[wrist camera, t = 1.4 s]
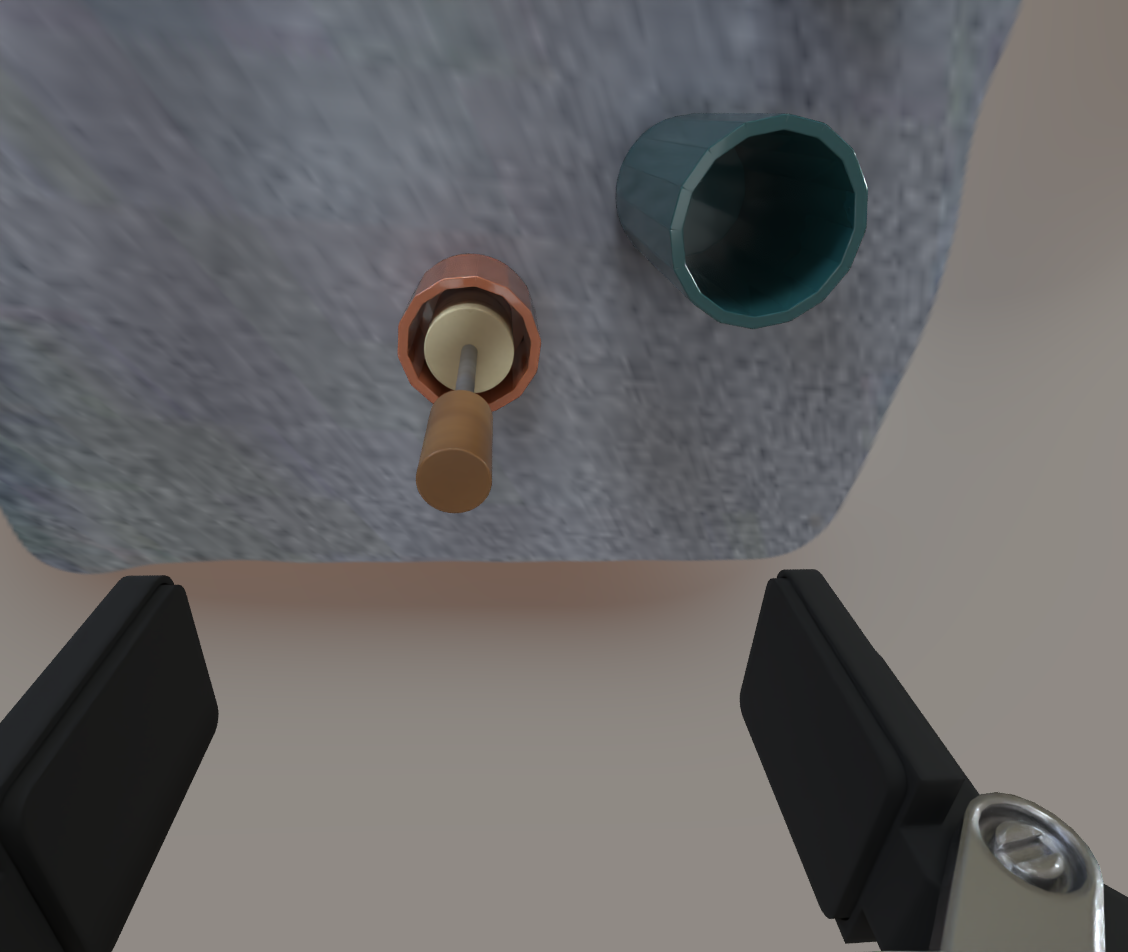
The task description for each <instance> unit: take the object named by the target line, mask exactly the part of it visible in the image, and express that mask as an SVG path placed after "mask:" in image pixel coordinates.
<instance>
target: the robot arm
mask: <svg viewBox="0 0 1128 952" xmlns="http://www.w3.org/2000/svg"><path fill="white" fill-rule="evenodd" d="M740 707H741V712H742V715H743V718H744V721H745V723H746V726H747V728H748V731H749V733H750V736H751V737H752V740H753V743H754V745H755V748H756V750H757V753H758V755H759V758H760V760H761V763H762V765H763V767H764V770H765V772H766V775H767V777H768V780H769V782H770V785H771V787H772V790H773V792H774V795H775V797H776V800H777V802H778V805H779V807H780V810H781V812H782V814H783V817H784V820H785V822H786V824H787V827H788V829H789V832H790V834H791V837H792V839H793V842H794V844H795V846H796V849H797V852H798V854H799V856H800V859H801V861H802V864H803V866H804V869H805V871H806V874H807V876H808V879H809V881H810V884H811V886H812V889H813V891H814V894H815V896H816V899H817V901H818V904H819V906H820V908H821V910H822V912H823V913H824V915H825V916H826V917H827V918H829V919H834V918H835V920H836V922H837V925H838V927H839V929H840V932H841V934H842V937H843V939H844V941H845V943H861V942H877V943H878V945H879V947H880V949H881V951H874V952H1128V897H1126V896H1125V895H1123V894H1121V893H1119V892H1118V891H1116V890H1114V889H1112V888H1110V887H1108V886H1107V885H1105V884H1103V879H1102V875H1101V871H1100V866H1099V864H1098V862H1097V860H1096V859H1095V857H1094V855H1093V853H1092V852H1091V850H1090V848H1089V847H1088V846H1087V844H1086V843H1085V842H1084V841H1083V840H1082V839H1081V838H1080V837H1079V835H1078V834H1077V833H1076V832H1075V831H1074V830H1073V829H1072V828H1071V827H1070V826H1068V825H1067V824H1066V823H1065V822H1063V821H1062V820H1061V819H1060V818H1058V817H1057V816H1056V815H1055V814H1053V813H1051V812H1050V811H1048V810H1046V809H1044V808H1043V807H1041V806H1039V805H1038V804H1036V803H1034V802H1031V801H1029V800H1026V799H1023V798H1021V797H1018V796H1015V795H1011V794H1004V793H998V792H994V793H987V794H981V795H979V793H978V792H977V790H976V789H975V788H974V786H973V785H972V783H971V782H970V781H969V779H968V778H967V776H966V775H965V774H964V772H963V771H962V769H961V768H960V766H959V765H958V764H957V762H956V761H955V759H954V758H953V757H952V755H951V754H950V752H949V751H948V750H947V748H946V747H945V745H944V744H943V742H942V741H941V740H940V738H939V737H938V735H937V734H936V733H935V731H934V730H933V728H932V727H931V726H930V724H929V723H928V721H927V720H926V719H925V717H924V716H923V714H922V713H921V711H920V710H919V709H918V707H917V706H916V704H915V703H914V702H913V700H912V699H911V698H910V696H909V695H908V693H907V692H906V690H905V689H904V687H903V686H902V685H901V683H900V682H899V680H898V679H897V678H896V676H895V675H894V674H893V672H892V671H891V669H890V668H889V666H888V665H887V664H886V662H885V661H884V659H883V658H882V657H881V656H880V655H879V654H878V653H877V651H875V649H874V648H873V646H872V645H871V644H870V642H869V641H868V639H867V638H866V637H865V635H864V634H863V632H862V631H861V629H860V628H859V627H858V625H857V624H856V622H855V621H854V620H853V618H852V617H851V615H850V614H849V612H848V611H847V610H846V608H845V607H844V605H843V604H842V603H841V601H840V600H839V598H838V597H837V595H836V594H835V593H834V591H833V590H832V589H831V587H830V586H829V584H828V583H827V581H826V580H825V578H824V577H823V576H822V574H821V573H820V572H819V571H817V570H814V569H806V570H805V569H803V570H802V569H800V570H782V571H780V572H779V574H778V576H777V578H773V579H770V580H769V581H768V583H767V586H766V590H765V594H764V598H763V602H762V606H761V610H760V614H759V619H758V623H757V627H756V631H755V635H754V639H753V643H752V647H751V651H750V655H749V659H748V663H747V668H746V671H745V676H744V680H743V684H742V688H741V692H740ZM217 723H218V706H217V702H216V699H215V695H214V692H213V688H212V684H211V681H210V677H209V674H208V670H207V667H206V663H205V660H204V656H203V652H202V649H201V645H200V642H199V638H198V635H197V631H196V628H195V624H194V620H193V617H192V613H191V609H190V606H189V602H188V599H187V595H186V592H185V590H184V588H183V587H182V586H181V585H174V583H173V581H172V580H171V579H170V577H168V576H165V575H162V576H126V577H123V578H122V579H121V580H119V581H118V583H117V584H116V585H115V586H114V587H113V589H112V590H111V591H110V592H109V593H108V594H107V596H106V597H105V598H104V599H103V601H102V602H101V603H100V604H99V605H98V606H97V608H96V609H95V610H94V611H93V612H92V614H91V615H90V616H89V617H88V618H87V620H86V621H85V622H84V623H83V625H82V626H81V627H80V628H79V629H78V630H77V632H76V633H75V634H74V635H73V636H72V638H71V639H70V640H69V641H68V642H67V644H66V645H65V646H64V647H63V648H62V650H61V651H60V652H59V653H58V654H57V656H56V657H55V658H54V659H53V660H52V662H51V663H50V664H49V665H48V666H47V668H46V669H45V670H44V671H43V672H42V674H41V675H40V676H39V677H38V678H37V680H36V681H35V682H34V683H33V684H32V686H31V687H30V688H29V689H28V690H27V692H26V693H25V694H24V695H23V696H22V698H21V699H20V700H19V701H18V702H17V704H16V705H15V706H14V707H13V708H12V710H11V711H10V712H9V713H8V714H7V716H6V717H5V718H4V719H3V720H2V722H1V723H0V952H111V951H112V950H113V948H114V946H115V944H116V942H117V940H118V938H119V935H120V933H121V931H122V929H123V927H124V925H125V923H126V920H127V918H128V916H129V914H130V912H131V910H132V908H133V906H134V904H135V901H136V899H137V897H138V895H139V893H140V891H141V888H142V887H143V884H144V882H145V880H146V878H147V876H148V874H149V872H150V869H151V867H152V865H153V863H154V861H155V859H156V857H157V854H158V852H159V850H160V848H161V846H162V844H163V842H164V840H165V837H166V835H167V833H168V831H169V829H170V827H171V824H172V823H173V820H174V818H175V816H176V814H177V812H178V810H179V807H180V806H181V803H182V801H183V799H184V797H185V795H186V793H187V790H188V789H189V786H190V784H191V782H192V780H193V778H194V776H195V774H196V772H197V769H198V767H199V765H200V763H201V761H202V759H203V757H204V754H205V752H206V750H207V748H208V746H209V744H210V742H211V739H212V737H213V735H214V733H215V731H216V728H217Z"/></svg>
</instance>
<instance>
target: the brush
mask: <svg viewBox="0 0 1128 952" xmlns="http://www.w3.org/2000/svg"><path fill="white" fill-rule="evenodd" d="M424 355H425V359H426V363H427V365H428V367H429V369H430V371H431V373H432V374H433V375H434V377H435V378H436V379H437V380H438V381H439V382H441V383H442V384H443V385H445V386H446V387H448V388H450V389H452V390H454V391H450V392H447V393H445V394H443V395H442V396H440V397H439V398H438V399H437V400H436V401H435V402H434V404H433V406H432V408H431V411H430V415H429V420H428V424H427V429H426V433H425V438H424V442H423V446H422V451H421V455H420V460H419V464H418V469H417V473H416V485H417V489H418V491H419V493H420V495H421V496H422V498H423V499H424V500H425V501H426V502H427V503H428V504H429V505H431V506H432V507H434V508H435V509H438V510H440V511H443V512H448V513H462V512H467V511H470V510H472V509H474V508H476V507H477V506H479V505H480V504H481V503H482V502H483V501H484V500H485V499H486V498H487V496H488V495H489V492H490V490H491V486H492V443H493V416H492V411H491V409H490V407H489V405H488V404H487V402H486V401H485V400H484V399H483V398H482V397H481V396H479V395H478V394H476V393H480V392H484V391H487V390H489V389H492V388H493V387H495V386H496V385H498V384H499V383H500V382H501V381H502V380H503V379H504V378H505V377H506V376H507V374H508V373H509V371H510V369H511V366H512V363H513V359H514V341H513V327H512V315H511V310H510V306H509V304H508V302H507V301H506V300H505V299H504V298H503V297H502V296H499V295H497V294H494V293H491V292H489V291H486V290H483V289H480V288H478V287H465V288H455V289H446V290H445V291H444V292H443V293H442V294H441V296H440V297H439V299H438V301H437V303H436V306H435V309H434V313H433V316H432V319H431V322H430V325H429V328H428V331H427V334H426V337H425V342H424Z"/></svg>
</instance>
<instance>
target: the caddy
mask: <svg viewBox="0 0 1128 952" xmlns="http://www.w3.org/2000/svg"><path fill="white" fill-rule="evenodd" d="M465 287H478V288H480V289H483V290H486V291H489V292H491V293H494V294H497V295H499V296H502V297H503V298H504V299H505V300H506V301H507V302H508V304H509V306H510V310H511V315H512V327H513V341H514V359H513V363H512V366H511V369H510V371H509V373H508V374H507V376H506V377H505V378H504V379H503V380H502V381H501V382H500V383H499V384H498V385H496V386H495V387H493V388H492V389H489V390H487V391H484V392H480V393H476V394H478V395H479V396H481V397H482V398H483V399H484V400H485V401H486V402H487V404H488V405H489V407H490V409H491V411H492V412H493V411H496V410H498V409H499V408H501V407H503V406H505V405H506V404H508V403H510V402H511V401H513V400H515V399H517V398H518V397H520V396H521V395H522V393H523V392H524V390H525V389H526V387H527V386H528V384H529V383H530V381H531V380H532V379H533V377H534V376H535V374H536V373H537V369H538V362H539V355H540V348H541V338H540V333H539V328H538V322H537V317H536V312H535V309H534V306H533V303H532V299H531V296H530V294H529V291H528V288H527V286H526V285H525V284H524V282H523V281H522V280H521V278H520V277H519V276H518V275H517V274H516V273H515V272H514V271H513V270H512V269H511V268H510V267H508V266H507V265H506V264H504V263H502V262H501V261H499V260H496V259H494V258H492V257H488V256H485V255H479V254H461V255H456V256H452V257H449V258H447V259H445V260H442V261H441V262H439V263H438V264H436V265H435V266H433V267H432V268H431V269H430V270H428V271H427V272H426V273H425V274H424V276H423V277H422V279H421V281H420V282H419V284H418V286H417V288H416V290H415V291H414V293H413V295H412V297H411V299H410V301H409V303H408V305H407V307H406V310H405V312H404V314H403V316H402V318H401V320H400V322H399V326H398V358H399V360H400V362H401V364H402V367H403V369H404V371H405V373H406V375H407V378H408V380H409V382H410V384H411V385H412V386H413V387H414V388H415V389H416V390H418V391H419V392H420V393H421V394H422V395H423V396H424V397H426V398H427V399H428V400H429V401H430V402H431V403H433V404H434V402H435V401H436V400H437V399H438V398H439V397H440V396H442V395H443V394H445V393H447V392H450V391H454V390H452V389H450V388H448V387H446V386H445V385H443V384H442V383H441V382H439V381H438V380H437V379H436V378H435V377H434V375H433V374H432V373H431V371H430V369H429V367H428V365H427V363H426V359H425V355H424V342H425V337H426V334H427V331H428V328H429V325H430V322H431V319H432V316H433V313H434V309H435V306H436V303H437V301H438V299H439V297H440V296H441V294H442V293H443V292H444V291H445V290H446V289H455V288H465Z"/></svg>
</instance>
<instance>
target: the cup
mask: <svg viewBox="0 0 1128 952" xmlns="http://www.w3.org/2000/svg"><path fill="white" fill-rule="evenodd" d="M867 201H868V188H867V184H866V181H865V178H864V176H863V173H862V170H861V167H860V165H859V162H858V159H857V157H856V154H855V151H853V148H852V147H851V146H849V145H848V144H847V143H846V142H845V141H844V140H843V139H842V138H841V137H840V136H839V135H838V134H837V133H836V132H834V131H833V130H832V129H831V128H830V127H829V126H828V125H827V124H825V123H823V122H819V121H815V120H811V119H808V118H804V117H800V116H796V115H792V114H785V113H692V114H687V115H681V116H675V117H672V118H668V119H665V120H663V121H661V122H659V123H657V124H656V125H654V126H653V127H651V128H650V129H648V130H647V131H646V132H645V133H643V134H642V135H641V136H640V137H639V139H638V140H637V141H636V142H635V143H634V144H633V146H632V147H631V148H630V150H629V152H628V153H627V155H626V157H625V159H624V161H623V163H622V166H621V168H620V172H619V175H618V179H617V185H616V208H617V213H618V217H619V220H620V223H621V226H622V228H623V230H624V232H625V233H626V235H627V236H628V238H629V239H630V241H631V243H632V244H633V246H634V247H635V248H636V249H637V250H638V251H639V252H640V253H641V254H642V255H643V256H644V257H645V258H646V259H647V260H648V261H649V262H651V263H652V264H653V265H654V266H655V267H656V268H657V269H658V270H659V271H660V272H661V273H662V274H663V275H664V276H665V277H666V278H667V279H668V280H669V281H670V282H671V283H672V284H673V285H674V286H675V287H676V288H677V289H678V290H679V291H680V292H681V293H682V294H683V295H684V296H685V297H686V298H687V299H688V300H689V301H691V302H692V303H693V304H694V305H695V306H697V307H698V308H700V309H701V310H702V311H704V312H705V313H707V314H708V315H709V316H711V317H712V318H713V319H715V320H716V321H718V322H720V323H724V324H729V325H734V326H739V327H744V328H749V329H757V328H762V327H766V326H771V325H776V324H781V323H786V322H789V321H792V320H793V319H795V318H796V317H798V316H800V315H801V314H803V313H805V312H806V311H808V310H809V309H811V308H813V307H814V306H816V305H817V304H819V303H821V302H822V301H823V300H824V299H825V298H826V297H827V296H828V295H829V294H830V292H831V291H832V290H833V289H834V288H835V286H836V285H837V284H838V283H839V282H840V280H841V279H842V278H843V277H844V276H845V274H846V273H847V272H848V271H849V268H851V266H852V263H853V261H854V258H855V256H856V253H857V251H858V248H859V246H860V243H861V241H862V238H863V236H864V233H865V231H866V230H865V229H866V225H867Z"/></svg>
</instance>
